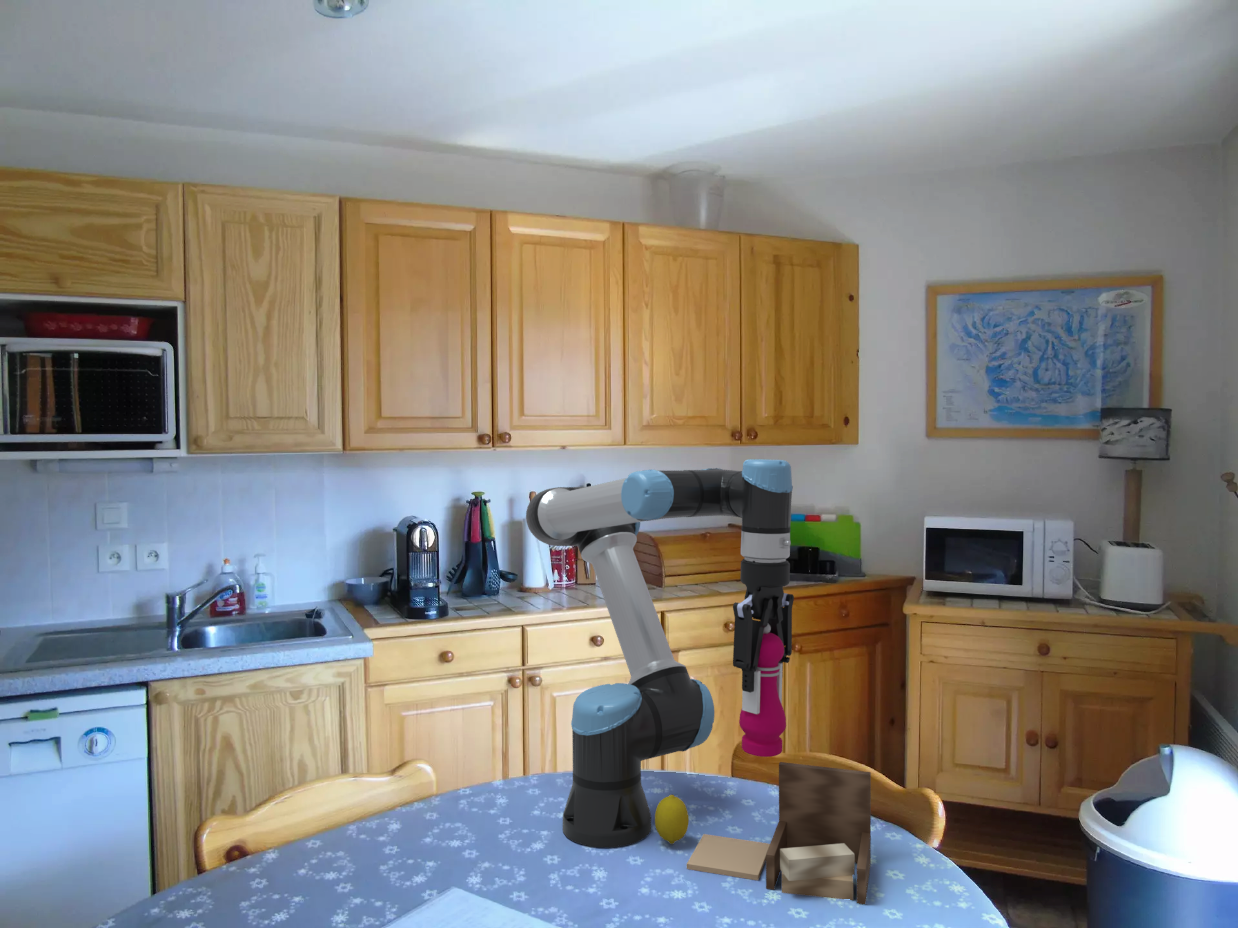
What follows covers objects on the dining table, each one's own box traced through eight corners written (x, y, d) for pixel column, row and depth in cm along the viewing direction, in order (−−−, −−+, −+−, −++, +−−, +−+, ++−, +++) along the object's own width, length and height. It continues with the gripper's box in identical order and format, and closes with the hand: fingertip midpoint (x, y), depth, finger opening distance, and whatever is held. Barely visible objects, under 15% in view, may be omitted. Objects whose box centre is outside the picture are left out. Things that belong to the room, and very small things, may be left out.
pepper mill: (755, 737, 138) (758, 615, 137) (794, 749, 133) (797, 622, 132) (729, 749, 133) (732, 622, 132) (768, 762, 128) (772, 630, 127)
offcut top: (788, 880, 121) (788, 859, 121) (779, 868, 124) (780, 848, 124) (854, 874, 123) (854, 853, 123) (844, 863, 126) (844, 843, 126)
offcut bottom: (781, 894, 123) (781, 873, 123) (782, 882, 126) (782, 862, 126) (853, 902, 121) (853, 881, 121) (852, 890, 124) (852, 869, 124)
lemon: (693, 839, 140) (693, 791, 140) (681, 854, 135) (681, 803, 135) (662, 833, 142) (662, 786, 142) (649, 847, 137) (649, 798, 137)
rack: (766, 888, 124) (765, 792, 124) (780, 848, 137) (779, 761, 137) (865, 904, 120) (865, 805, 119) (870, 861, 132) (870, 772, 132)
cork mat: (686, 868, 130) (686, 863, 130) (703, 838, 141) (703, 833, 141) (758, 880, 127) (758, 874, 127) (770, 848, 137) (770, 843, 137)
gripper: (751, 567, 122) (748, 727, 123) (817, 555, 136) (814, 699, 137) (709, 561, 128) (706, 714, 128) (777, 551, 141) (774, 689, 142)
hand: (762, 706), depth 133 cm, fingers closed on pepper mill, 5 cm apart
